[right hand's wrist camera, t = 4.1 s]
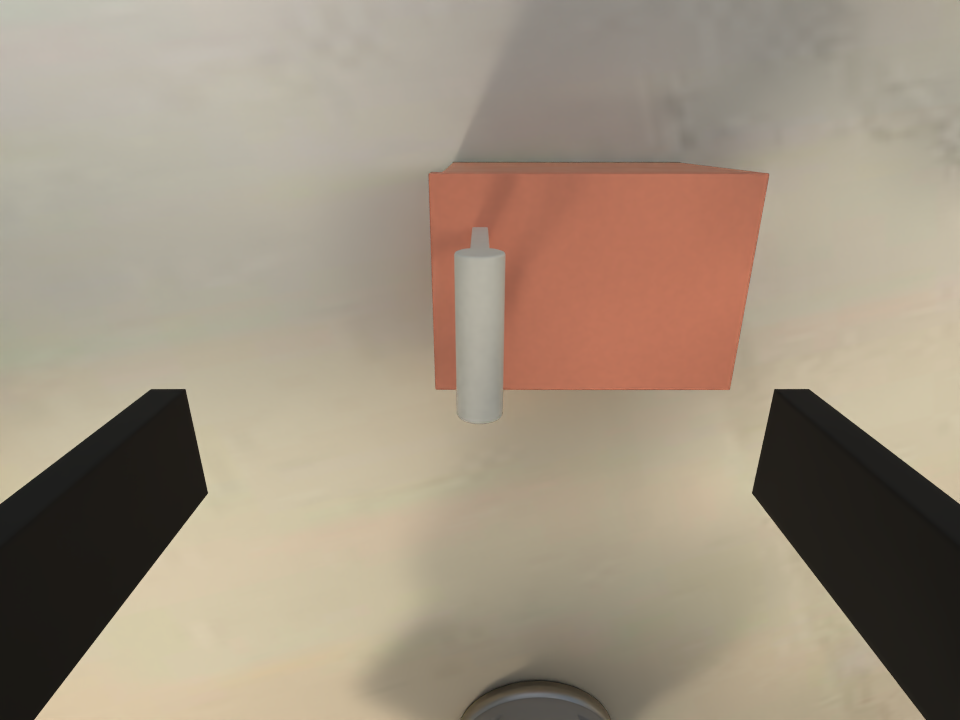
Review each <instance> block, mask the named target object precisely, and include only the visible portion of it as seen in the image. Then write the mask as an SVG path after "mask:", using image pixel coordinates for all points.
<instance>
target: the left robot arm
mask: <svg viewBox="0 0 960 720" xmlns="http://www.w3.org/2000/svg"><path fill="white" fill-rule="evenodd" d="M461 720H611V719H610V717H609V715H608V713H607V711H606V710H605V708H604V707H603V706H602V705H601V704H600V703H599V702H598V701H597V700H596V699H595V698H594V697H592V696H591V695H589V694H587V693H586V692H584V691H582V690H580V689H577V688H575V687H572V686H569V685H566V684H562V683H556V682H549V681H527V682H519V683H514V684H510V685H506V686H503V687H500V688H497V689H495V690H493V691H491V692H489V693H487V694H485V695H484V696H482V697H480V698H479V699H478V700H476V701H475V702H474V703H473V704H472V705H471V706H470V707H469V708H468V709H467V710H466V712H465V713H464V715H463V716H462V718H461Z"/></svg>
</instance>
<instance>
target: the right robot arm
mask: <svg viewBox="0 0 960 720" xmlns="http://www.w3.org/2000/svg"><path fill="white" fill-rule="evenodd" d="M207 494H208V491H207V486H206V482H205V477H204V473H203V468H202V463H201V459H200V454H199V450H198V445H197V440H196V436H195V431H194V426H193V422H192V417H191V413H190V408H189V403H188V399H187V394H186V389H151V390H149V391H148V392H147V393H145V394H144V395H143V396H142V397H140V398H139V399H138V400H136V401H135V402H134V403H132V404H131V405H130V406H128V407H127V408H126V409H124V410H123V411H122V412H121V413H119V414H118V415H117V416H115V417H114V418H113V419H111V420H110V421H109V422H107V423H106V424H105V425H104V426H102V427H101V428H100V429H98V430H97V431H96V432H94V433H93V434H92V435H90V436H89V437H88V438H86V439H85V440H84V441H83V442H81V443H80V444H79V445H77V446H76V447H75V448H73V449H72V450H71V451H69V452H68V453H67V454H65V455H64V456H63V457H62V458H60V459H59V460H58V461H56V462H55V463H54V464H52V465H51V466H50V467H48V468H47V469H46V470H44V471H43V472H42V473H41V474H39V475H38V476H37V477H35V478H34V479H33V480H31V481H30V482H29V483H27V484H26V485H25V486H23V487H22V488H21V489H20V490H18V491H17V492H16V493H14V494H13V495H12V496H10V497H9V498H8V499H6V500H5V501H4V502H2V503H1V504H0V720H34V719H35V718H36V717H37V715H38V714H39V713H40V711H41V710H42V709H43V708H44V706H45V705H46V704H47V702H48V701H49V700H50V698H51V697H52V696H53V694H54V693H55V692H56V691H57V689H58V688H59V687H60V685H61V684H62V683H63V681H64V680H65V679H66V678H67V676H68V675H69V674H70V672H71V671H72V670H73V668H74V667H75V666H76V664H77V663H78V662H79V661H80V659H81V658H82V657H83V655H84V654H85V653H86V651H87V650H88V649H89V648H90V646H91V645H92V644H93V642H94V641H95V640H96V638H97V637H98V636H99V635H100V633H101V632H102V631H103V629H104V628H105V627H106V625H107V624H108V623H109V621H110V620H111V619H112V618H113V616H114V615H115V614H116V612H117V611H118V610H119V608H120V607H121V606H122V605H123V603H124V602H125V601H126V599H127V598H128V597H129V595H130V594H131V593H132V592H133V590H134V589H135V588H136V586H137V585H138V584H139V582H140V581H141V580H142V578H143V577H144V576H145V575H146V573H147V572H148V571H149V569H150V568H151V567H152V565H153V564H154V563H155V562H156V560H157V559H158V558H159V556H160V555H161V554H162V552H163V551H164V550H165V548H166V547H167V546H168V545H169V543H170V542H171V541H172V539H173V538H174V537H175V535H176V534H177V533H178V532H179V530H180V529H181V528H182V526H183V525H184V524H185V522H186V521H187V520H188V519H189V517H190V516H191V515H192V513H193V512H194V511H195V509H196V508H197V507H198V505H199V504H200V503H201V502H202V500H203V499H204V498H205V496H206V495H207ZM752 494H753V495H754V496H755V498H756V499H757V500H758V502H759V503H760V504H761V505H762V507H763V508H764V509H765V511H766V512H767V513H768V515H769V516H770V517H771V519H772V520H773V521H774V522H775V524H776V525H777V526H778V528H779V529H780V530H781V532H782V533H783V534H784V535H785V537H786V538H787V539H788V541H789V542H790V543H791V545H792V546H793V547H794V548H795V550H796V551H797V552H798V554H799V555H800V556H801V558H802V559H803V560H804V562H805V563H806V564H807V565H808V567H809V568H810V569H811V571H812V572H813V573H814V575H815V576H816V577H817V578H818V580H819V581H820V582H821V584H822V585H823V586H824V588H825V589H826V590H827V592H828V593H829V594H830V595H831V597H832V598H833V599H834V601H835V602H836V603H837V605H838V606H839V607H840V608H841V610H842V611H843V612H844V614H845V615H846V616H847V618H848V619H849V620H850V621H851V623H852V624H853V625H854V627H855V628H856V629H857V631H858V632H859V633H860V635H861V636H862V637H863V638H864V640H865V641H866V642H867V644H868V645H869V646H870V648H871V649H872V650H873V651H874V653H875V654H876V655H877V657H878V658H879V659H880V661H881V662H882V663H883V664H884V666H885V667H886V668H887V670H888V671H889V672H890V674H891V675H892V676H893V678H894V679H895V680H896V681H897V683H898V684H899V685H900V687H901V688H902V689H903V691H904V692H905V693H906V694H907V696H908V697H909V698H910V700H911V701H912V702H913V704H914V705H915V706H916V708H917V709H918V710H919V711H920V713H921V714H922V715H923V717H924V718H925V719H926V720H960V504H959V503H958V502H956V501H955V500H954V499H952V498H951V497H950V496H948V495H947V494H946V493H944V492H943V491H942V490H940V489H939V488H938V487H937V486H935V485H934V484H933V483H931V482H930V481H929V480H927V479H926V478H925V477H923V476H922V475H921V474H919V473H918V472H917V471H916V470H914V469H913V468H912V467H910V466H909V465H908V464H906V463H905V462H904V461H902V460H901V459H900V458H898V457H897V456H896V455H895V454H893V453H892V452H891V451H889V450H888V449H887V448H885V447H884V446H883V445H881V444H880V443H879V442H877V441H876V440H875V439H874V438H872V437H871V436H870V435H868V434H867V433H866V432H864V431H863V430H862V429H860V428H859V427H858V426H856V425H855V424H854V423H853V422H851V421H850V420H849V419H847V418H846V417H845V416H843V415H842V414H841V413H839V412H838V411H837V410H836V409H834V408H833V407H832V406H830V405H829V404H828V403H826V402H825V401H824V400H822V399H821V398H820V397H818V396H817V395H816V394H815V393H813V392H812V391H811V390H809V389H774V394H773V399H772V403H771V408H770V413H769V417H768V422H767V426H766V431H765V436H764V440H763V445H762V450H761V454H760V459H759V463H758V468H757V473H756V477H755V482H754V486H753V491H752Z"/></svg>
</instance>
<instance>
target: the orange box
mask: <svg viewBox="0 0 960 720" xmlns="http://www.w3.org/2000/svg"><path fill="white" fill-rule="evenodd" d="M768 179H769V174H768V173H760V172H431V173H429V203H430V234H431V265H432V296H433V327H434V358H435V388H436V389H437V390H456V393H457V415H458V417H459V418H460V419H461V420H463V421H465V422H468V423H473V424H486V423H491V422H494V421H496V420H498V419H499V418H500V417H501V416H502V414H503V390H730V385H731V380H732V374H733V369H734V363H735V358H736V353H737V347H738V342H739V336H740V331H741V325H742V320H743V315H744V309H745V304H746V298H747V293H748V287H749V282H750V276H751V271H752V266H753V260H754V255H755V249H756V244H757V238H758V233H759V228H760V222H761V217H762V211H763V206H764V200H765V195H766V189H767V184H768Z"/></svg>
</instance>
